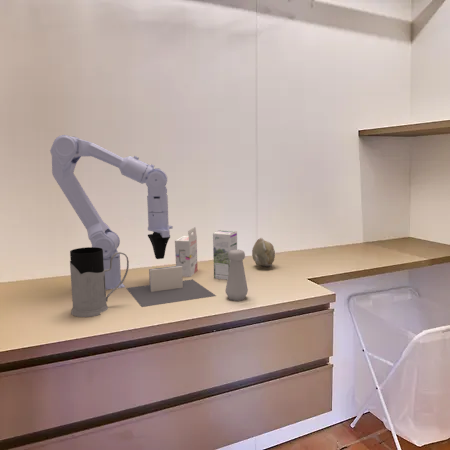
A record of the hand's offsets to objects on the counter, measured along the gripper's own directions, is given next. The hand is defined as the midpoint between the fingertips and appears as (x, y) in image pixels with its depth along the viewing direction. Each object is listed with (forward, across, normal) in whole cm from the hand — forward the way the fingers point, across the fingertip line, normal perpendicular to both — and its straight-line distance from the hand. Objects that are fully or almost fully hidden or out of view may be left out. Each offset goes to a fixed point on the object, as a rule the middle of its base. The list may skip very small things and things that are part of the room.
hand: (159, 258), depth 129 cm
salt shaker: (+8, -22, -14) cm, 27 cm away
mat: (+8, -9, 0) cm, 12 cm away
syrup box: (+8, -2, -20) cm, 22 cm away
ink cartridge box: (+8, +8, -11) cm, 16 cm away
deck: (+8, -6, 0) cm, 10 cm away
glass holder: (+8, -14, +19) cm, 25 cm away
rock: (+8, +5, -37) cm, 38 cm away
